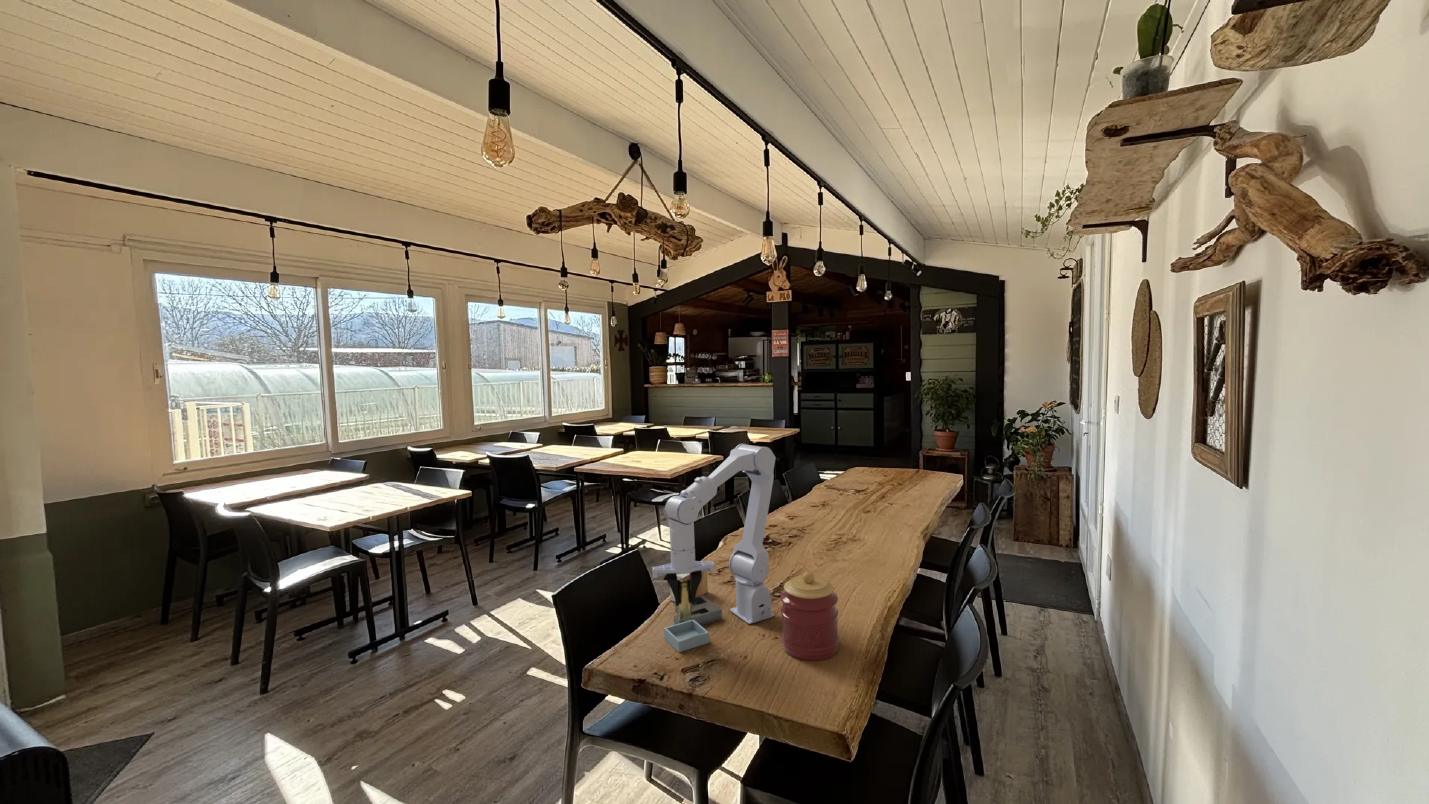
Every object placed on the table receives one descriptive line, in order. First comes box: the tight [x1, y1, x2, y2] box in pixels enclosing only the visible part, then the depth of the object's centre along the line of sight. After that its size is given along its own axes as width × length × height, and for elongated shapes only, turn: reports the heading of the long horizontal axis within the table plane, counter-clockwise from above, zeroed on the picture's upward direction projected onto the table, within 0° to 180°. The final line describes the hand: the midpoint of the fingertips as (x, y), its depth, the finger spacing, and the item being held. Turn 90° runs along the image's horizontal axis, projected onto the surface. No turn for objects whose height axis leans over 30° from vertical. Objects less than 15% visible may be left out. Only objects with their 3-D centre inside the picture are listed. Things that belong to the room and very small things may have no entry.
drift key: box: [673, 613, 700, 625], centre depth 141 cm, size 3×7×3 cm, turn 120°
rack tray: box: [663, 619, 710, 653], centre depth 133 cm, size 8×8×2 cm
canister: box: [780, 571, 840, 661], centre depth 127 cm, size 13×13×18 cm
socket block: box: [674, 594, 723, 627], centre depth 146 cm, size 11×8×3 cm
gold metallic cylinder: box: [678, 578, 692, 621], centre depth 133 cm, size 3×3×9 cm
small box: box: [669, 571, 709, 603], centre depth 158 cm, size 8×6×10 cm
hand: (684, 603), depth 132 cm, fingers closed on gold metallic cylinder, 3 cm apart
